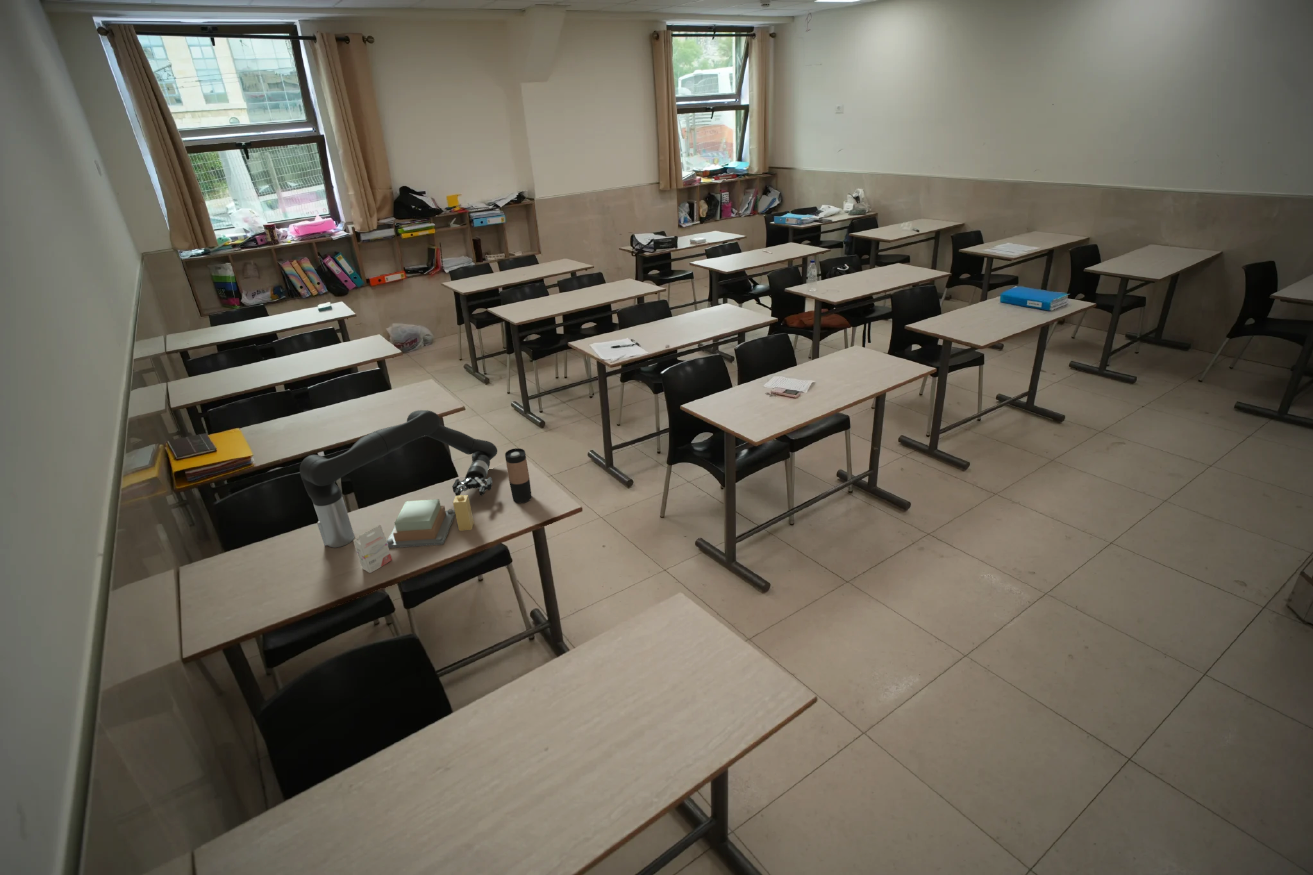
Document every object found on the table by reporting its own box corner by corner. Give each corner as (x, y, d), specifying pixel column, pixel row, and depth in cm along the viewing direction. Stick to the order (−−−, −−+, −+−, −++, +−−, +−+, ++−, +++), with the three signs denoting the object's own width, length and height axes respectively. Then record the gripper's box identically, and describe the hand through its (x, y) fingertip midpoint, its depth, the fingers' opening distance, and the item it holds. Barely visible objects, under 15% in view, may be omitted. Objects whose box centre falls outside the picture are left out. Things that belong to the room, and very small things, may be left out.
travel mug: (510, 496, 255) (502, 451, 246) (529, 491, 257) (522, 446, 248) (515, 505, 248) (507, 459, 239) (534, 500, 251) (527, 454, 242)
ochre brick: (459, 530, 235) (452, 500, 229) (461, 523, 239) (455, 493, 233) (471, 529, 235) (465, 499, 229) (473, 522, 239) (467, 493, 233)
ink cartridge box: (384, 555, 224) (373, 519, 217) (392, 560, 221) (382, 524, 215) (361, 568, 218) (349, 532, 211) (369, 573, 215) (358, 537, 209)
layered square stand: (385, 548, 228) (379, 528, 224) (402, 516, 245) (397, 497, 242) (443, 544, 228) (438, 524, 224) (455, 512, 246) (451, 494, 242)
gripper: (457, 466, 256) (447, 487, 242) (493, 463, 257) (486, 484, 242) (460, 482, 260) (451, 504, 245) (496, 480, 260) (489, 502, 246)
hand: (469, 494), depth 244 cm, fingers open, 8 cm apart
